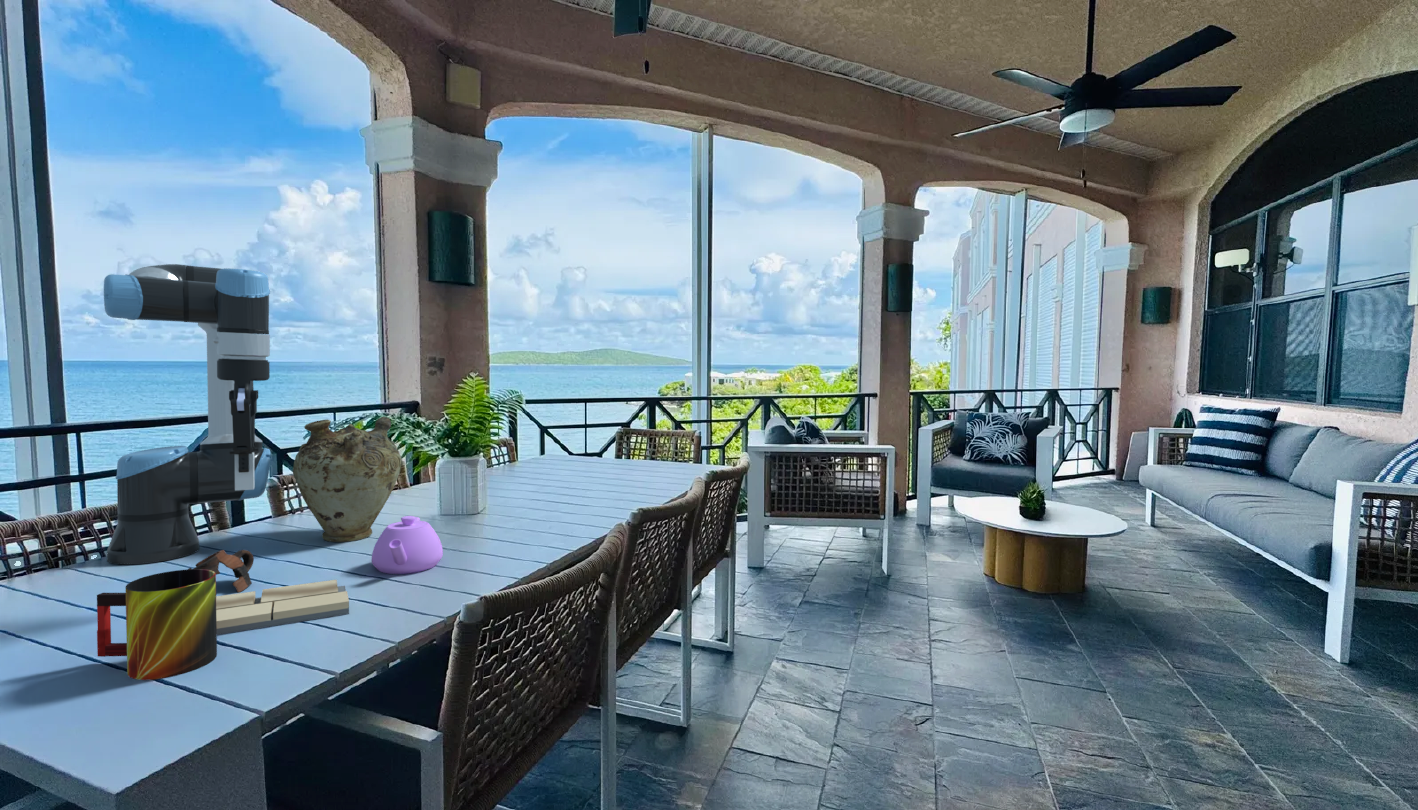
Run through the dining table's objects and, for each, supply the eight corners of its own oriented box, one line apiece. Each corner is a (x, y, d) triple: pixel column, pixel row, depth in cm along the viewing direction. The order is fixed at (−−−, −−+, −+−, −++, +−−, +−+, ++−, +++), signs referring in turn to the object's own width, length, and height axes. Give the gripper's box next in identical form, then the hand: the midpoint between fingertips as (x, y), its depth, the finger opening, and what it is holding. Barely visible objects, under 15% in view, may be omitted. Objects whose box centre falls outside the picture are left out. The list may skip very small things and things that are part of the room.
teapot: (356, 584, 123) (356, 530, 122) (384, 554, 142) (384, 508, 142) (432, 580, 126) (432, 528, 125) (449, 552, 145) (449, 506, 145)
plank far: (262, 595, 112) (262, 589, 111) (336, 585, 118) (336, 579, 118) (260, 609, 106) (260, 602, 106) (338, 597, 112) (338, 591, 112)
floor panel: (164, 616, 105) (164, 603, 105) (344, 590, 119) (344, 579, 119) (148, 645, 94) (148, 631, 94) (349, 613, 108) (349, 601, 108)
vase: (394, 543, 147) (381, 415, 146) (283, 556, 142) (269, 425, 141) (418, 522, 170) (407, 411, 168) (323, 533, 165) (310, 419, 163)
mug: (99, 662, 89) (97, 578, 88) (222, 643, 95) (221, 565, 95) (73, 693, 80) (70, 601, 80) (209, 670, 87) (208, 585, 86)
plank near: (172, 609, 105) (171, 602, 105) (255, 597, 111) (255, 591, 111) (165, 623, 100) (164, 616, 99) (253, 610, 106) (252, 603, 106)
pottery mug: (232, 601, 114) (202, 565, 112) (192, 619, 115) (162, 584, 113) (277, 564, 125) (251, 531, 123) (241, 582, 127) (214, 549, 125)
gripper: (222, 356, 115) (223, 483, 117) (211, 357, 104) (212, 498, 106) (272, 358, 119) (272, 481, 121) (266, 359, 108) (267, 495, 110)
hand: (244, 488), depth 113 cm, fingers closed
